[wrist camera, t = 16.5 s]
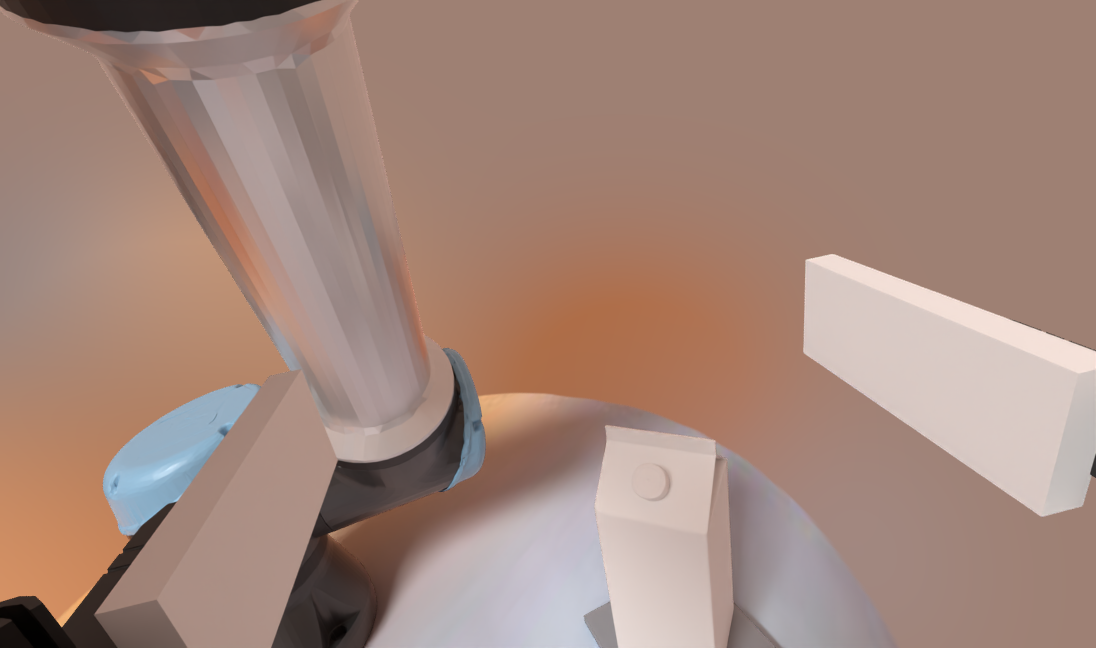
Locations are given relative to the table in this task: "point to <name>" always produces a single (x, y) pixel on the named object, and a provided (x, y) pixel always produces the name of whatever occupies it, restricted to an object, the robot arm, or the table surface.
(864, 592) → the table surface
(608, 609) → the slate pad
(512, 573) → the table surface
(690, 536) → the milk carton
